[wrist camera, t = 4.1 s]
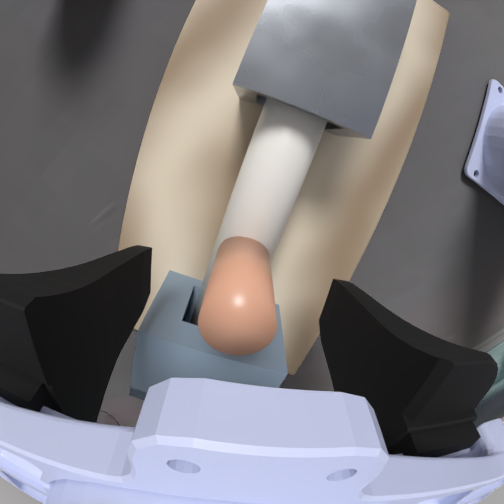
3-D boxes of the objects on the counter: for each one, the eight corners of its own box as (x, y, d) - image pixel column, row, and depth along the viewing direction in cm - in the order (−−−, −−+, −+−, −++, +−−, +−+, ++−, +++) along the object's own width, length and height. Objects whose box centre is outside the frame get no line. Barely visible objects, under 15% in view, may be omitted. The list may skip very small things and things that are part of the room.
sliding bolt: (354, 31, 11) (423, -26, 5) (239, 322, 18) (232, 422, 11) (302, 9, 11) (337, -68, 4) (194, 308, 17) (165, 405, 11)
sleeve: (390, -14, 11) (427, -47, 6) (336, 135, 15) (370, 139, 10) (304, -51, 10) (320, -97, 5) (239, 98, 14) (232, 84, 9)
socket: (279, 304, 19) (287, 373, 13) (252, 359, 20) (251, 428, 15) (169, 270, 18) (137, 330, 12) (155, 331, 20) (129, 395, 14)
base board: (441, 15, 12) (449, 12, 11) (292, 366, 22) (294, 375, 21) (241, -69, 10) (240, -76, 9) (114, 311, 20) (109, 319, 19)
